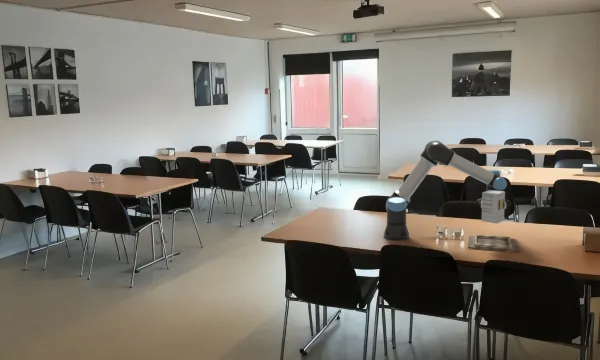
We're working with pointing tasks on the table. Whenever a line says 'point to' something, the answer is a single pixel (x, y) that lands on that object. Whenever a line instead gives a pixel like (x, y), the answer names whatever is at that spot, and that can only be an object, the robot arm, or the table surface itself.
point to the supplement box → (493, 206)
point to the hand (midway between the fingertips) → (493, 206)
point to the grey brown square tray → (493, 243)
